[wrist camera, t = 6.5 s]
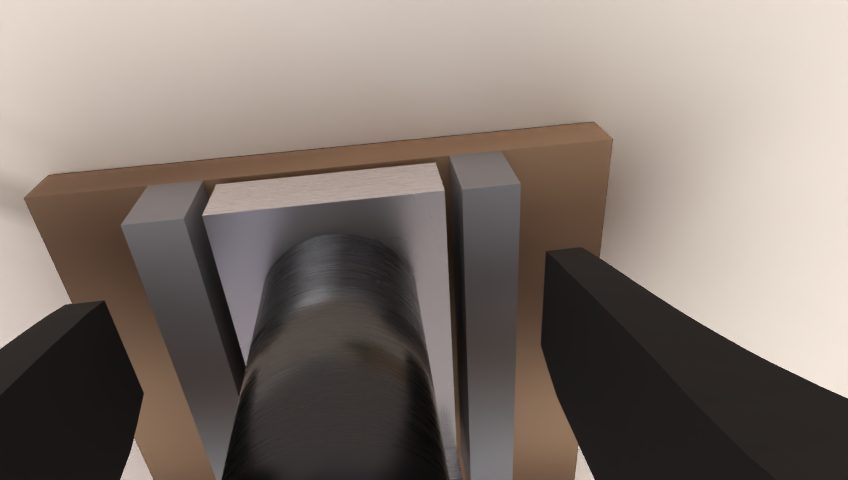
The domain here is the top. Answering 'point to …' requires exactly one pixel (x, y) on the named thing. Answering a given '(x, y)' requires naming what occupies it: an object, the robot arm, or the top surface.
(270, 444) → the ram
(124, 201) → the bench
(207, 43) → the top surface
